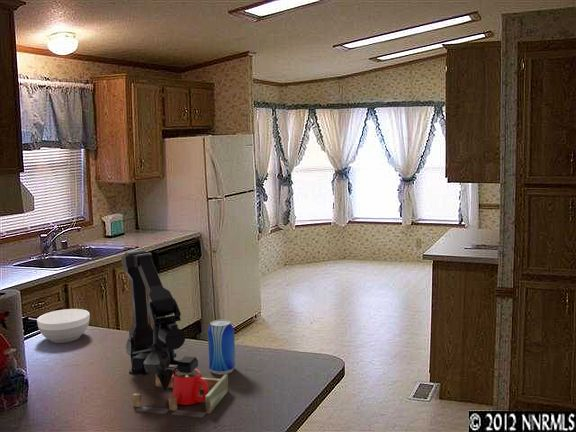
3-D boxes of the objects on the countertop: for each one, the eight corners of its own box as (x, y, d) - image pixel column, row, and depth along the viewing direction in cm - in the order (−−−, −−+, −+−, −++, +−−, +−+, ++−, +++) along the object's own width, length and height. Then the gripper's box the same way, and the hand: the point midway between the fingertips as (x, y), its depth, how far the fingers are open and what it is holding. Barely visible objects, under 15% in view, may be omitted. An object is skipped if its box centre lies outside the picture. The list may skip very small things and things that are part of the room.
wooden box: (129, 410, 167) (127, 393, 167) (157, 384, 184) (156, 369, 184) (206, 418, 162) (205, 400, 161) (228, 390, 179) (227, 374, 178)
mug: (199, 411, 166) (200, 383, 165) (166, 400, 172) (167, 373, 171) (217, 401, 172) (218, 375, 172) (184, 391, 178) (185, 365, 178)
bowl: (31, 338, 231) (29, 316, 230) (79, 326, 243) (78, 305, 242) (49, 350, 217) (46, 327, 215) (99, 338, 229) (97, 315, 228)
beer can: (231, 376, 189) (229, 327, 187) (205, 374, 191) (203, 326, 189) (238, 366, 197) (236, 319, 195) (214, 365, 199) (212, 318, 197)
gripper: (119, 346, 167) (122, 399, 170) (181, 351, 163) (183, 405, 165) (139, 333, 178) (142, 383, 180) (197, 337, 173) (199, 389, 175)
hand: (165, 390), depth 175 cm, fingers closed
